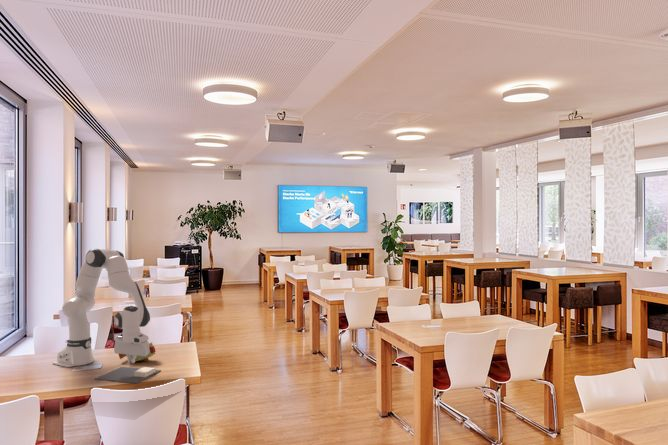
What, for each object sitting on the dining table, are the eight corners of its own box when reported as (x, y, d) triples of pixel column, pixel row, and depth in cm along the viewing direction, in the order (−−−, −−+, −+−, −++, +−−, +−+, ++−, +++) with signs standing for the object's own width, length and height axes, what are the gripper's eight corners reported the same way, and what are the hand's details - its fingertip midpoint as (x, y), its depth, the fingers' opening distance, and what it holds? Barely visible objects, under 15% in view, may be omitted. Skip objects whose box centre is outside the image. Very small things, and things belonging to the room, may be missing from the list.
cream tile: (134, 371, 258) (145, 372, 256) (143, 367, 266) (155, 368, 264) (134, 376, 258) (145, 377, 256) (144, 371, 266) (155, 372, 264)
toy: (121, 369, 283) (153, 360, 281) (115, 349, 283) (146, 340, 281) (129, 364, 293) (160, 355, 291) (123, 345, 293) (154, 336, 291)
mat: (94, 379, 256) (94, 378, 256) (121, 367, 275) (121, 366, 275) (136, 383, 249) (136, 382, 249) (160, 371, 268) (160, 370, 268)
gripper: (111, 337, 263) (111, 362, 263) (143, 339, 257) (143, 366, 257) (119, 334, 269) (119, 359, 269) (151, 337, 263) (151, 362, 263)
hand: (131, 362), depth 263 cm, fingers closed
